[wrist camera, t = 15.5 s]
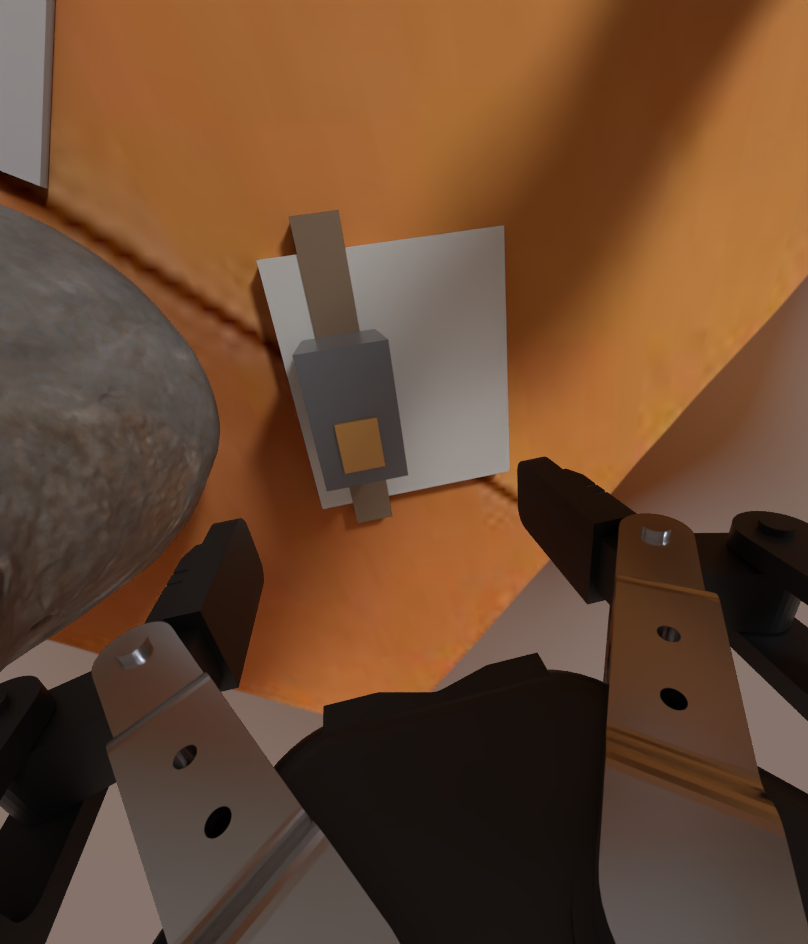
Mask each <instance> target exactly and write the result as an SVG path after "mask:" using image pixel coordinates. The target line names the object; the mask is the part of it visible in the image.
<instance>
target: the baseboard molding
mask: <svg viewBox="0 0 808 944" xmlns="http://www.w3.org/2000/svg"><path fill="white" fill-rule="evenodd" d="M54 18H55V0H0V171H2V172H5V173H7V174H10V175H12V176H15V177H18V178H20V179H23V180H25V181H28V182H30V183H33V184H35V185H38V186H40V187H43V188H46V189H48V169H49V144H50V118H51V93H52V68H53V43H54Z"/></svg>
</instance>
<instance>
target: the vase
mask: <svg viewBox="0 0 808 944" xmlns="http://www.w3.org/2000/svg"><path fill="white" fill-rule="evenodd" d="M219 436H220V423H219V415H218V410H217V406H216V401H215V398H214V394H213V391H212V388H211V386H210V383H209V381H208V378H207V376H206V374H205V372H204V370H203V368H202V366H201V364H200V362H199V360H198V359H197V357H196V355H195V353H194V352H193V350H192V348H191V347H190V345H189V344H188V343H187V341H186V340H185V339H184V337H183V336H182V335H181V334H180V333H179V332H178V330H177V329H176V328H175V327H174V325H173V324H172V323H171V322H170V321H169V320H168V319H167V317H166V316H165V315H164V314H163V313H162V312H161V311H160V309H159V308H158V307H157V306H156V305H155V304H154V303H153V302H152V301H151V300H150V299H149V297H148V296H147V295H146V294H145V293H144V292H143V291H142V290H140V289H139V288H138V287H137V286H136V285H135V284H134V283H133V282H132V281H131V280H130V279H128V278H127V277H126V276H124V275H123V274H122V273H121V272H119V271H118V270H117V269H116V268H114V267H113V266H112V265H110V264H109V263H108V262H106V261H105V260H103V259H102V258H101V257H99V256H98V255H96V254H95V253H93V252H92V251H90V250H89V249H87V248H86V247H84V246H83V245H81V244H80V243H78V242H76V241H75V240H73V239H71V238H70V237H68V236H66V235H65V234H63V233H61V232H59V231H57V230H56V229H54V228H52V227H50V226H48V225H46V224H44V223H42V222H40V221H38V220H36V219H34V218H32V217H30V216H27V215H25V214H23V213H20V212H18V211H15V210H13V209H10V208H8V207H5V206H2V205H0V672H1V671H2V670H3V669H4V668H5V667H6V666H7V665H8V664H10V663H11V662H13V661H14V660H16V659H17V658H19V657H20V656H22V655H23V654H25V653H26V652H28V651H29V650H31V649H32V648H34V647H35V646H37V645H39V644H40V643H42V642H43V641H45V640H46V639H48V638H49V637H51V636H52V635H54V634H55V633H57V632H58V631H60V630H61V629H63V628H65V627H66V626H68V625H69V624H71V623H72V622H74V621H75V620H77V619H78V618H79V617H81V616H82V615H84V614H85V613H86V612H88V611H89V610H90V609H91V608H93V607H94V606H96V605H97V604H98V603H100V602H101V601H102V600H104V599H105V598H107V597H108V596H110V595H111V594H113V593H114V592H115V591H117V590H118V589H120V588H121V587H122V586H124V585H125V584H127V583H128V582H129V581H130V580H132V579H133V578H134V577H135V576H136V575H138V574H139V573H140V572H142V571H143V570H144V569H146V568H147V567H148V566H150V565H151V564H152V563H153V562H154V561H155V560H156V559H157V558H158V557H159V556H160V555H161V554H162V553H163V552H164V551H165V550H166V548H167V547H168V546H169V545H170V544H171V542H172V541H173V540H174V539H175V537H176V536H177V535H178V533H179V532H180V531H181V530H182V529H183V527H184V526H185V524H186V523H187V522H188V520H189V519H190V517H191V515H192V513H193V511H194V509H195V508H196V506H197V504H198V501H199V499H200V497H201V495H202V492H203V490H204V488H205V485H206V482H207V478H208V476H209V474H210V471H211V469H212V466H213V463H214V459H215V457H216V455H217V452H218V445H219Z"/></svg>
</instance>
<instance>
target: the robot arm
mask: <svg viewBox="0 0 808 944" xmlns="http://www.w3.org/2000/svg"><path fill="white" fill-rule="evenodd" d="M517 476H518V511H519V516H520V519H521V522H522V524H523V526H524V527H525V529H526V530H527V531H528V532H529V534H530V535H531V536H532V537H533V538H534V540H535V541H536V542H537V543H538V545H539V546H540V547H541V548H542V549H543V551H544V552H545V553H546V554H547V556H548V557H549V558H550V559H551V560H552V562H553V563H554V564H555V565H556V567H557V568H558V569H559V570H560V572H561V573H562V574H563V575H564V576H565V578H566V579H567V580H568V581H569V583H570V584H571V585H572V586H573V587H574V589H575V590H576V591H577V592H578V594H579V595H580V596H581V597H582V598H583V600H584V601H585V602H586V603H587V604H591V603H595V602H599V601H603V600H606V601H607V602H608V603H609V605H610V609H609V618H608V630H607V643H606V655H605V666H604V678H603V682H602V681H599V680H597V679H594V678H591V677H588V676H585V675H582V674H578V673H573V672H568V671H561V670H547V669H546V667H545V665H544V663H543V661H542V660H541V658H540V656H539V655H538V653H534V654H530V655H526V656H522V657H518V658H514V659H510V660H506V661H502V662H498V663H494V664H490V665H486V666H485V667H483V668H481V669H479V670H477V671H475V672H473V673H472V674H470V675H468V676H466V677H464V678H462V679H461V680H459V681H457V682H455V683H453V684H451V685H449V686H448V687H446V688H444V689H442V690H440V691H437V692H378V693H374V694H370V695H366V696H362V697H358V698H354V699H350V700H346V701H342V702H338V703H334V704H330V705H326V706H324V713H323V727H321V728H319V729H317V730H316V731H314V732H313V733H311V734H310V735H308V736H307V737H305V738H304V739H302V740H301V741H300V742H299V743H297V744H296V745H295V746H294V747H293V748H291V749H290V750H289V751H288V753H286V754H285V755H284V756H283V757H282V758H281V759H280V760H279V761H278V762H277V764H276V765H275V766H274V767H273V766H272V764H271V763H270V761H269V760H268V759H267V757H266V756H265V754H264V753H263V752H262V750H261V749H260V747H259V746H258V744H257V743H256V741H255V740H254V739H253V737H252V736H251V734H250V733H249V732H248V730H247V729H246V727H245V726H244V725H243V723H242V722H241V720H240V719H239V718H238V716H237V715H236V713H235V712H234V710H233V709H232V707H230V705H229V703H228V702H227V700H226V699H225V698H224V696H223V695H222V693H221V691H226V690H230V689H234V688H238V687H239V683H240V679H241V675H242V671H243V667H244V663H245V658H246V654H247V650H248V646H249V642H250V638H251V634H252V629H253V625H254V621H255V617H256V613H257V609H258V604H259V600H260V596H261V592H262V588H263V583H264V574H263V567H262V563H261V561H260V558H259V555H258V553H257V550H256V547H255V545H254V542H253V539H252V537H251V534H250V532H249V529H248V526H247V524H246V522H245V521H244V520H243V519H242V518H240V519H235V520H230V521H225V522H220V523H215V524H213V525H212V526H211V528H210V530H209V532H208V534H207V536H206V537H205V539H204V541H203V543H202V544H200V545H196V546H195V547H194V548H193V549H192V550H190V551H189V552H188V553H187V554H186V555H185V556H184V557H183V558H182V559H181V560H180V562H179V564H178V566H177V567H176V569H175V571H174V575H172V576H171V578H170V580H169V581H168V583H167V587H165V588H164V590H163V592H162V594H161V595H160V597H159V599H158V601H157V602H156V604H155V606H154V608H153V609H152V611H151V613H150V615H149V616H148V618H147V620H146V622H145V623H144V624H143V625H140V626H137V627H135V628H133V629H131V630H129V631H127V632H125V633H124V634H122V635H121V636H119V637H118V638H116V639H115V640H114V641H112V642H111V643H110V644H109V645H108V646H107V647H106V648H105V649H104V650H103V651H102V652H101V653H100V654H99V656H98V657H97V659H96V660H95V662H94V664H93V666H92V671H91V672H88V673H86V674H84V675H81V676H80V677H77V678H75V679H72V680H70V681H68V682H66V683H64V684H61V685H60V686H57V687H55V688H52V689H50V690H47V689H46V688H45V686H44V685H43V684H42V683H41V682H40V680H39V679H38V678H36V677H34V676H22V677H17V678H14V679H11V680H8V681H6V682H3V683H1V684H0V806H1V807H2V808H3V809H4V810H5V811H6V812H8V813H9V816H8V817H7V819H6V821H5V823H4V824H3V826H2V828H1V830H0V944H45V943H46V941H47V938H48V936H49V933H50V931H51V928H52V926H53V923H54V921H55V918H56V916H57V913H58V911H59V908H60V906H61V903H62V901H63V899H64V896H65V894H66V891H67V888H68V886H69V884H70V881H71V879H72V876H73V874H74V871H75V869H76V866H77V864H78V861H79V859H80V856H81V854H82V852H83V849H84V847H85V844H86V842H87V839H88V836H89V834H90V832H91V829H92V827H93V824H94V822H95V819H96V817H97V814H98V812H99V810H100V807H101V805H102V802H103V800H104V797H105V795H106V792H107V790H108V787H109V786H110V785H112V784H114V783H116V782H117V785H118V788H119V791H120V795H121V798H122V801H123V804H124V807H125V810H126V813H127V817H128V820H129V823H130V826H131V829H132V832H133V836H134V839H135V842H136V845H137V848H138V851H139V855H140V858H141V861H142V864H143V867H144V870H145V873H146V876H147V880H148V883H149V886H150V889H151V892H152V895H153V899H154V902H155V905H156V908H157V911H158V914H159V917H160V921H161V923H162V927H163V929H162V930H161V931H160V933H159V934H158V936H157V937H156V939H155V940H154V942H153V943H152V944H808V794H807V793H805V792H804V791H802V790H800V789H798V788H796V787H794V786H793V785H791V784H789V783H787V782H785V781H784V780H782V779H780V778H778V777H776V776H775V775H773V774H771V773H769V772H767V771H765V770H764V769H762V768H760V767H758V766H757V763H756V759H755V754H754V750H753V745H752V741H751V737H750V733H749V728H748V723H747V719H746V715H745V710H744V706H743V701H742V697H741V692H740V688H739V683H738V679H737V675H736V670H735V666H734V662H733V657H732V653H731V648H733V650H735V651H736V652H737V653H738V654H739V655H740V656H741V657H742V658H743V659H744V660H745V661H746V662H747V663H748V664H749V665H750V666H751V667H752V668H753V669H754V670H755V671H756V672H757V673H758V674H760V675H761V676H762V677H763V678H764V679H765V680H766V681H767V682H768V683H769V684H770V685H771V686H772V687H773V688H774V689H775V690H776V691H777V692H778V693H779V694H780V695H781V696H782V697H783V698H784V699H785V700H786V701H787V702H788V703H790V704H791V705H792V706H793V707H794V708H795V709H796V710H797V711H798V712H799V713H800V714H801V715H802V716H803V717H804V718H805V719H806V720H807V721H808V627H807V626H805V625H804V624H802V623H801V622H800V621H798V620H797V619H796V618H795V614H796V612H797V609H798V607H799V604H800V602H801V601H802V602H804V603H806V604H807V605H808V523H806V522H804V521H802V520H799V519H797V518H794V517H791V516H787V515H783V514H779V513H773V512H766V511H750V512H744V513H740V514H738V515H736V516H735V517H734V518H733V520H732V524H731V528H730V532H729V533H693V531H692V530H691V529H690V528H689V527H688V526H687V525H685V524H684V523H682V522H680V521H678V520H676V519H674V518H671V517H668V516H664V515H659V514H651V513H640V514H637V513H635V512H634V511H632V510H631V509H629V508H628V507H627V506H626V505H624V504H623V503H621V502H620V501H619V500H617V499H616V498H615V497H613V496H612V495H610V494H609V493H608V492H606V493H605V490H603V489H602V488H601V487H599V486H598V485H595V483H594V482H592V481H591V480H590V479H588V478H587V477H586V476H584V475H583V474H580V473H577V472H574V471H571V470H569V469H562V468H560V467H559V466H558V465H557V464H555V463H554V462H553V461H551V460H550V459H549V458H547V457H540V458H535V459H530V460H525V461H521V462H519V464H518V469H517ZM730 647H731V648H730Z"/></svg>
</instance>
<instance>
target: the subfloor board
mask: <svg viewBox="0 0 808 944" xmlns="http://www.w3.org/2000/svg"><path fill="white" fill-rule="evenodd" d="M289 220H290V225H291V229H292V234H293V238H294V243H295V247H296V252H297V255H290V256H283V257H276V258H268V259H261V260H256V261H257V264H258V268H259V272H260V276H261V280H262V283H263V287H264V291H265V295H266V298H267V302H268V306H269V310H270V313H271V317H272V321H273V325H274V328H275V332H276V336H277V340H278V344H279V347H280V351H281V355H282V359H283V362H284V366H285V370H286V374H287V377H288V381H289V385H290V389H291V392H292V396H293V400H294V404H295V407H296V411H297V415H298V419H299V423H300V426H301V430H302V434H303V438H304V441H305V445H306V449H307V453H308V456H309V460H310V464H311V468H312V471H313V475H314V479H315V483H316V487H317V490H318V494H319V498H320V502H321V505H322V509H327V508H332V507H336V506H341V505H346V504H351V503H353V506H354V510H355V514H356V519H357V523H362V522H367V521H372V520H377V519H381V518H386V517H391V516H392V511H391V505H390V500H389V496H390V495H395V494H400V493H405V492H410V491H415V490H420V489H424V488H429V487H434V486H439V485H444V484H449V483H454V482H459V481H464V480H469V479H473V478H478V477H483V476H488V475H493V474H498V473H503V472H508V471H510V467H509V421H508V376H507V330H506V285H505V240H504V225H501V226H494V227H487V228H480V229H473V230H466V231H459V232H452V233H445V234H438V235H431V236H424V237H417V238H410V239H403V240H395V241H388V242H381V243H374V244H367V245H360V246H353V247H346V248H345V245H344V239H343V234H342V228H341V222H340V217H339V211H338V210H335V211H327V212H320V213H312V214H305V215H297V216H290V217H289ZM371 329H376V330H377V331H378V332H379V333H381V334H382V335H383V336H385V337H386V338H387V339H388V341H389V348H390V355H391V361H392V368H393V375H394V382H395V388H396V395H397V402H398V409H399V416H400V422H401V429H402V436H403V443H404V449H405V456H406V463H407V470H408V476H403V477H398V478H393V479H388V480H383V481H378V482H373V483H368V484H363V485H358V486H353V487H348V488H343V489H338V490H333V491H328V492H327V490H326V486H325V482H324V478H323V474H322V470H321V467H320V463H319V459H318V455H317V451H316V447H315V443H314V439H313V435H312V431H311V427H310V423H309V419H308V415H307V411H306V407H305V404H304V400H303V396H302V392H301V388H300V384H299V380H298V376H297V372H296V368H295V364H294V360H293V356H292V355H293V353H294V352H295V350H296V349H297V347H298V345H299V344H300V342H301V341H303V340H309V339H315V338H321V337H327V336H334V335H340V334H346V333H352V332H358V331H364V330H371Z"/></svg>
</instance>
